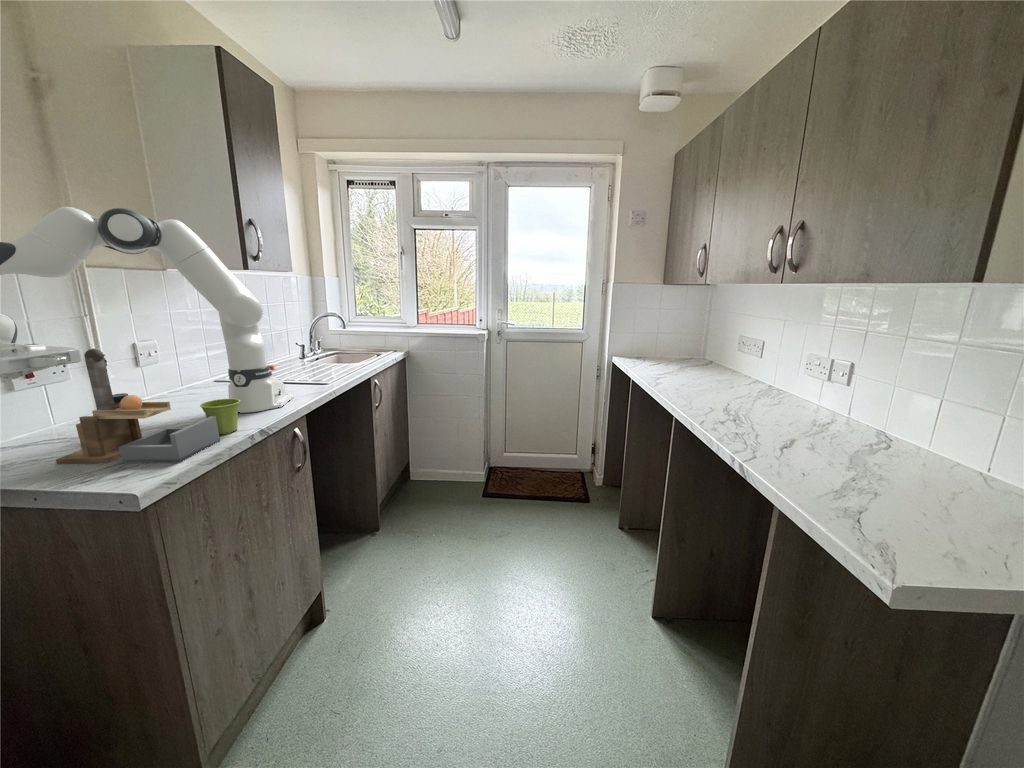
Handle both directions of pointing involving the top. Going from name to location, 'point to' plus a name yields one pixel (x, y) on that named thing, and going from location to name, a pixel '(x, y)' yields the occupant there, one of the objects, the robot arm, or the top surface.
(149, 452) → the bin
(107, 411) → the launcher
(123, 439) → the lever stand
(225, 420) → the plant pot
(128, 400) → the ball
